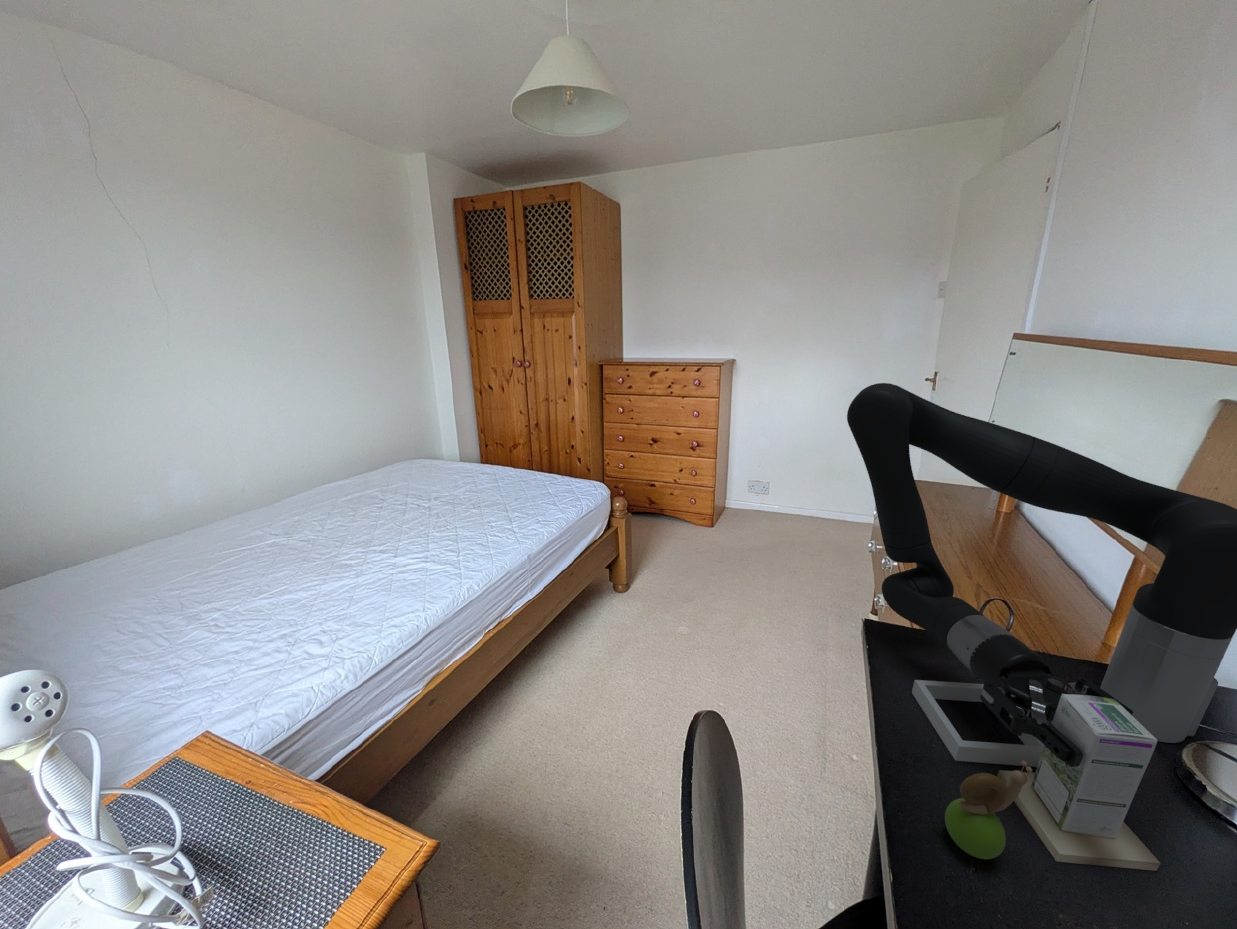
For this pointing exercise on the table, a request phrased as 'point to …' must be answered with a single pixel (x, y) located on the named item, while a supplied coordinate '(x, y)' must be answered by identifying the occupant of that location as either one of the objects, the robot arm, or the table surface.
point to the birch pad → (1080, 837)
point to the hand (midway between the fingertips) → (1115, 758)
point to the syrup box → (1094, 766)
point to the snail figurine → (982, 812)
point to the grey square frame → (971, 749)
